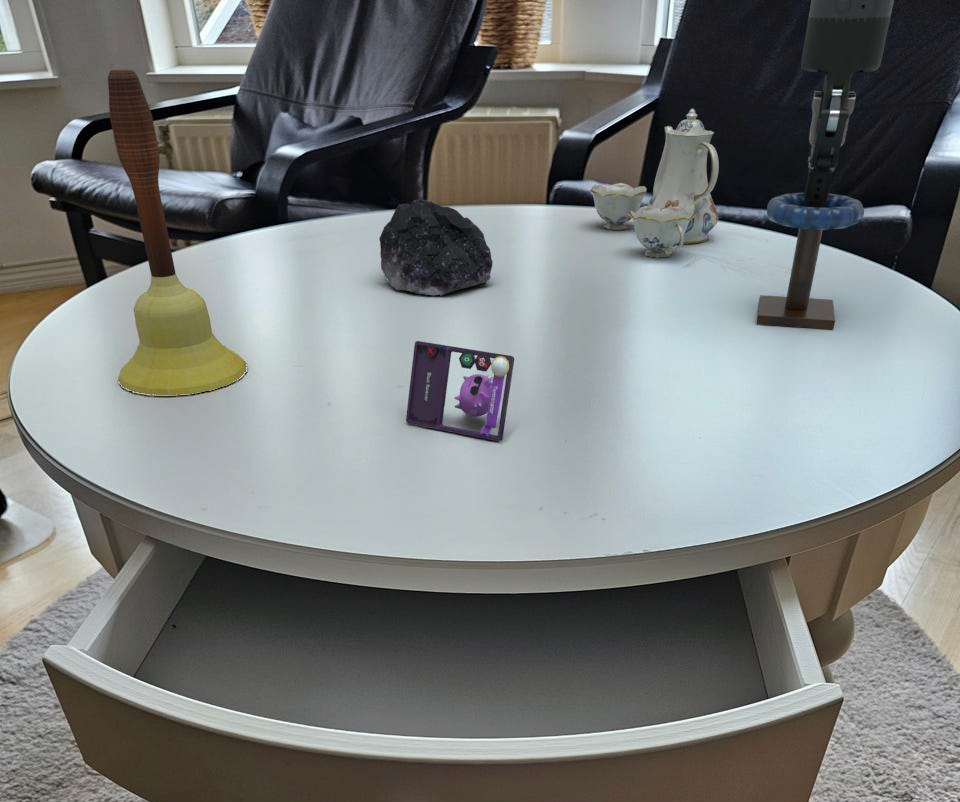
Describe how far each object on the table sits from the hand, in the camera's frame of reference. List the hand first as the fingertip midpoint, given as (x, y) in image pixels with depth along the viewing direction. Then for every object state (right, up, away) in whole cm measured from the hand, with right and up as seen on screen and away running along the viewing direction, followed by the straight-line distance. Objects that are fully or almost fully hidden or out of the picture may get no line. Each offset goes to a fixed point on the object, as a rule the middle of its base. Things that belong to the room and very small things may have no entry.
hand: (813, 207), depth 97 cm
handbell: (-65, -21, -9) cm, 69 cm away
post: (-1, -11, +3) cm, 11 cm away
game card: (-37, -28, -20) cm, 51 cm away
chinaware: (-10, +11, +34) cm, 37 cm away
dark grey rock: (-41, -2, +16) cm, 44 cm away
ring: (-1, -2, -3) cm, 4 cm away
